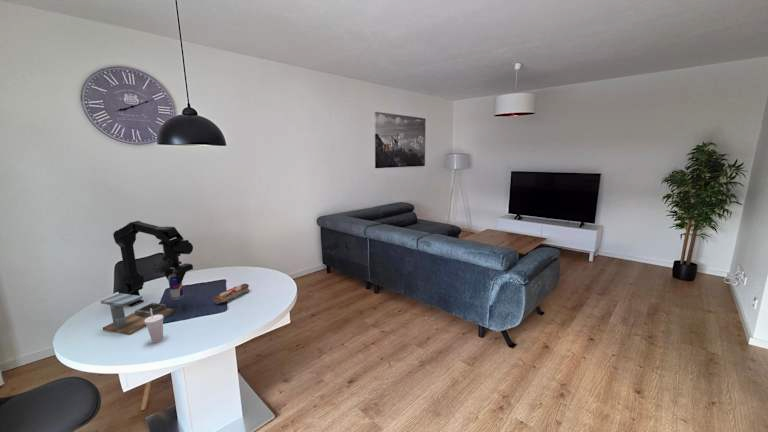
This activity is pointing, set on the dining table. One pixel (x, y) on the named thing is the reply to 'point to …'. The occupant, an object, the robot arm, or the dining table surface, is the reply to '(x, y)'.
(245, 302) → the dining table surface
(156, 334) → the smoothie
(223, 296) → the pencil case
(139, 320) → the socket board
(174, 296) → the energy drink
